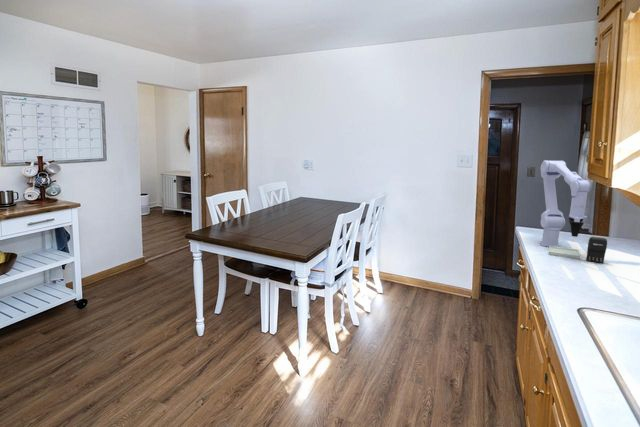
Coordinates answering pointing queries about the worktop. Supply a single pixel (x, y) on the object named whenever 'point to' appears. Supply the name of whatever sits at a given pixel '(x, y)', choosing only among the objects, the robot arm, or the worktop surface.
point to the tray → (564, 252)
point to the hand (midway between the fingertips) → (574, 234)
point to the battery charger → (596, 249)
